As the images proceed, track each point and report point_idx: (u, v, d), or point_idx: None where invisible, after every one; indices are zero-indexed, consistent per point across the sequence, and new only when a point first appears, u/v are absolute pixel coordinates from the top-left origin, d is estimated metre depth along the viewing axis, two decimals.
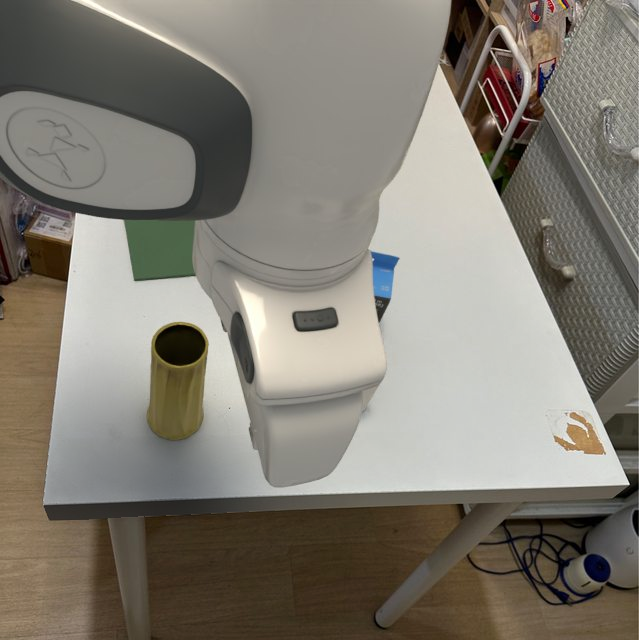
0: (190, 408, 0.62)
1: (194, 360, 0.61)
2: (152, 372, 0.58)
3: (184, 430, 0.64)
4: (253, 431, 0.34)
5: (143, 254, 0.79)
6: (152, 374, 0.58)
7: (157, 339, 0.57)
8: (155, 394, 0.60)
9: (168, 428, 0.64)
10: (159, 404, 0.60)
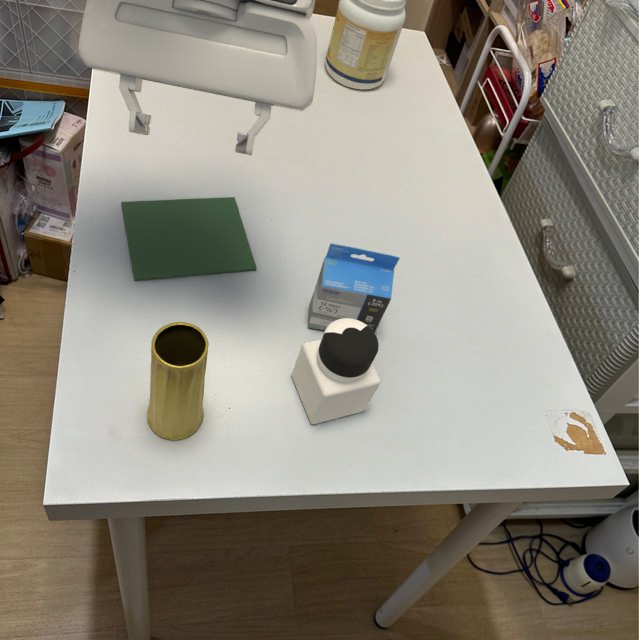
0: (190, 408, 0.62)
1: (194, 360, 0.61)
2: (152, 372, 0.58)
3: (184, 430, 0.64)
4: (272, 93, 0.52)
5: (143, 254, 0.79)
6: (152, 374, 0.58)
7: (157, 339, 0.57)
8: (155, 394, 0.60)
9: (168, 428, 0.64)
10: (159, 404, 0.60)
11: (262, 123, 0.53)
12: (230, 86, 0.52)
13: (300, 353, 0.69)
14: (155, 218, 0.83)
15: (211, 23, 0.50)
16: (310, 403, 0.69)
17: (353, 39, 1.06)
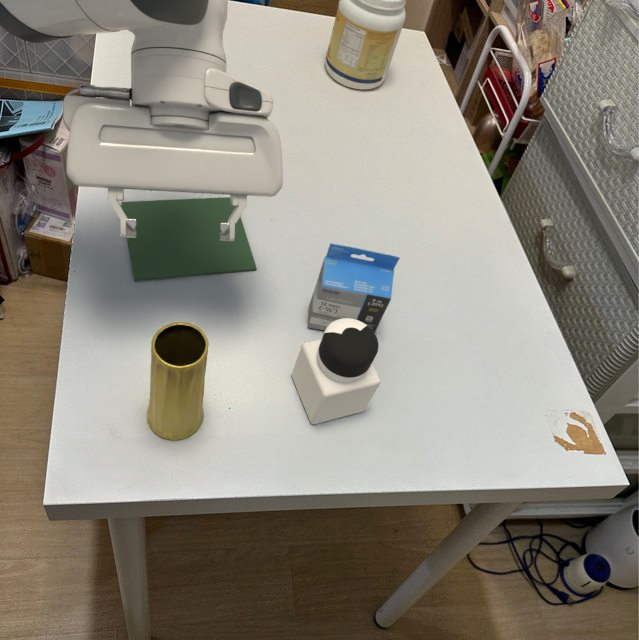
0: (190, 408, 0.62)
1: (194, 360, 0.61)
2: (152, 372, 0.58)
3: (184, 430, 0.64)
4: (247, 186, 0.59)
5: (143, 254, 0.79)
6: (152, 374, 0.58)
7: (157, 339, 0.57)
8: (155, 394, 0.60)
9: (168, 428, 0.64)
10: (159, 404, 0.60)
11: (241, 212, 0.60)
12: (210, 184, 0.58)
13: (300, 353, 0.69)
14: (155, 218, 0.83)
15: (186, 134, 0.57)
16: (310, 403, 0.69)
17: (353, 39, 1.06)
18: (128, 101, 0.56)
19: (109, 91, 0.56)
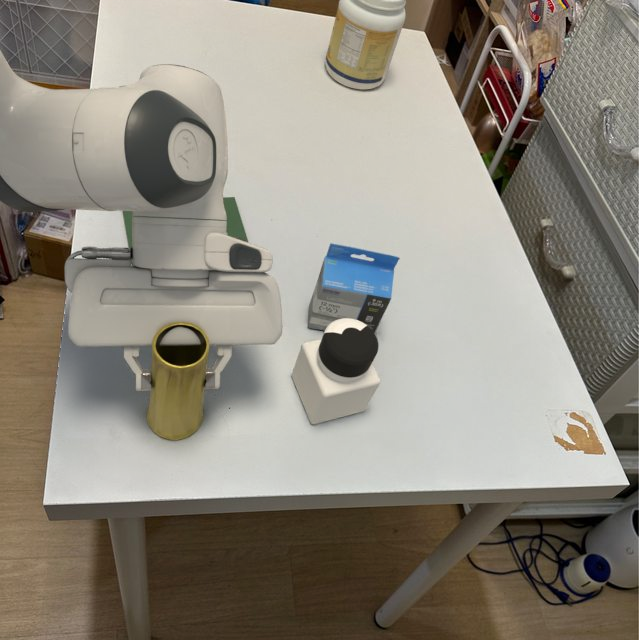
0: (190, 408, 0.62)
1: (194, 360, 0.61)
2: (153, 372, 0.58)
3: (184, 430, 0.64)
4: (247, 337, 0.60)
5: None
6: (153, 374, 0.58)
7: (158, 339, 0.57)
8: (155, 394, 0.60)
9: (168, 428, 0.64)
10: (159, 404, 0.60)
11: (226, 361, 0.60)
12: (210, 339, 0.59)
13: (300, 353, 0.69)
14: None
15: (187, 291, 0.58)
16: (310, 403, 0.69)
17: (353, 39, 1.06)
18: (129, 261, 0.57)
19: (110, 253, 0.56)
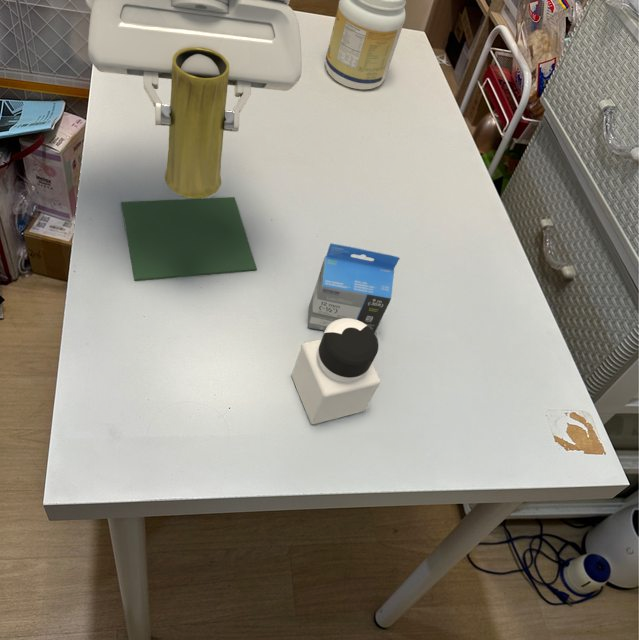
0: (209, 153, 0.61)
1: None
2: (172, 99, 0.57)
3: (202, 185, 0.64)
4: (266, 73, 0.59)
5: (143, 254, 0.79)
6: (172, 102, 0.58)
7: (178, 61, 0.56)
8: (175, 130, 0.59)
9: (186, 181, 0.63)
10: (178, 144, 0.60)
11: (245, 100, 0.60)
12: (230, 70, 0.58)
13: (300, 353, 0.69)
14: (155, 218, 0.83)
15: (206, 17, 0.57)
16: (310, 403, 0.69)
17: (353, 39, 1.06)
18: None
19: None
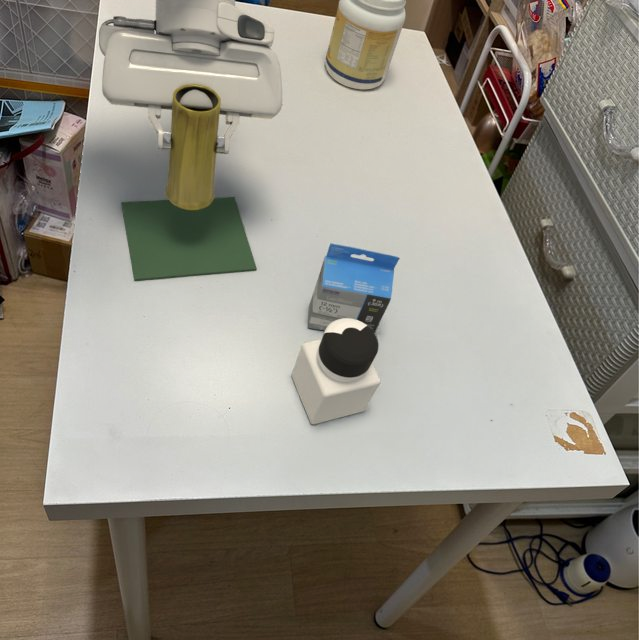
0: (204, 172, 0.72)
1: None
2: (173, 128, 0.68)
3: (198, 199, 0.75)
4: (252, 105, 0.70)
5: (143, 254, 0.79)
6: (172, 130, 0.68)
7: (177, 96, 0.67)
8: (174, 153, 0.70)
9: (184, 195, 0.74)
10: (177, 165, 0.71)
11: (234, 127, 0.71)
12: (221, 103, 0.69)
13: (300, 353, 0.69)
14: (155, 218, 0.83)
15: (201, 59, 0.68)
16: (310, 403, 0.69)
17: (353, 39, 1.06)
18: (153, 31, 0.67)
19: (137, 22, 0.67)
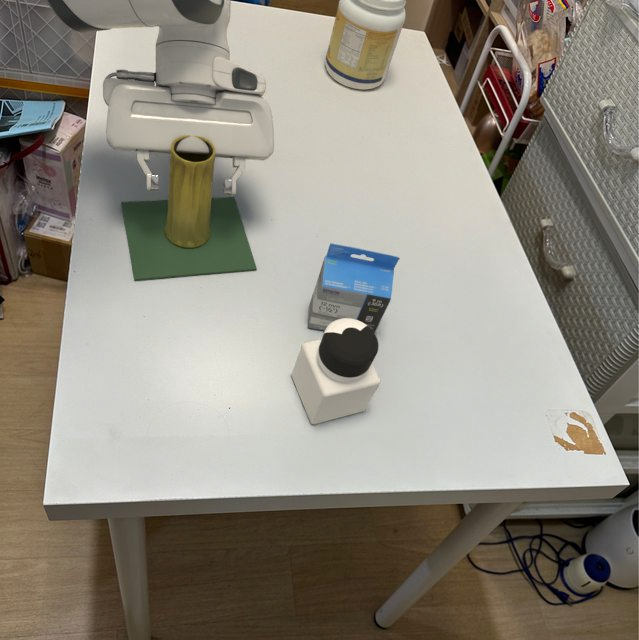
0: (200, 214, 0.77)
1: None
2: (171, 175, 0.74)
3: (195, 238, 0.80)
4: (246, 150, 0.75)
5: (143, 254, 0.79)
6: (171, 177, 0.74)
7: (175, 147, 0.72)
8: (173, 198, 0.76)
9: (182, 235, 0.79)
10: (175, 208, 0.76)
11: (241, 171, 0.76)
12: (217, 148, 0.74)
13: (300, 353, 0.69)
14: (155, 218, 0.83)
15: (198, 108, 0.73)
16: (310, 403, 0.69)
17: (353, 39, 1.06)
18: (153, 82, 0.72)
19: (139, 74, 0.72)
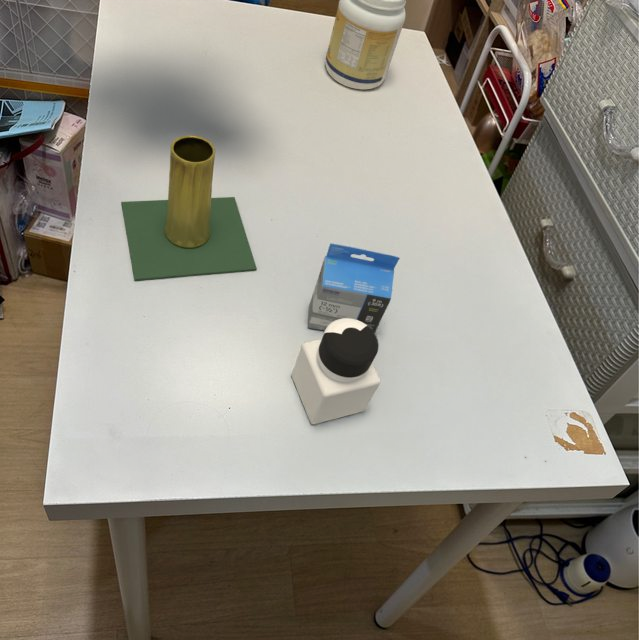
0: (200, 214, 0.77)
1: None
2: (171, 175, 0.74)
3: (195, 238, 0.80)
4: None
5: (143, 254, 0.79)
6: (171, 177, 0.74)
7: (175, 147, 0.72)
8: (172, 198, 0.76)
9: (182, 235, 0.79)
10: (175, 208, 0.76)
11: None
12: None
13: (300, 353, 0.69)
14: (155, 218, 0.83)
15: None
16: (310, 403, 0.69)
17: (353, 39, 1.06)
18: None
19: None
